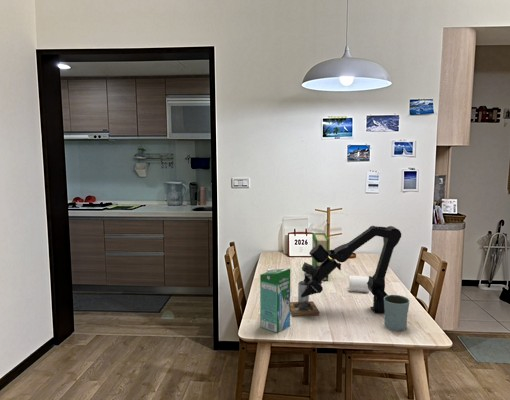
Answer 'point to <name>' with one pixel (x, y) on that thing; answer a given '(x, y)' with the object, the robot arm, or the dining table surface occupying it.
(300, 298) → the grey brushed cylinder
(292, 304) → the holder
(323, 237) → the hardback book
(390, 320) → the grey-green cup
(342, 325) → the dining table surface
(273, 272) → the milk carton
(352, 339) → the dining table surface
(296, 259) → the dining table surface
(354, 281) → the mug
